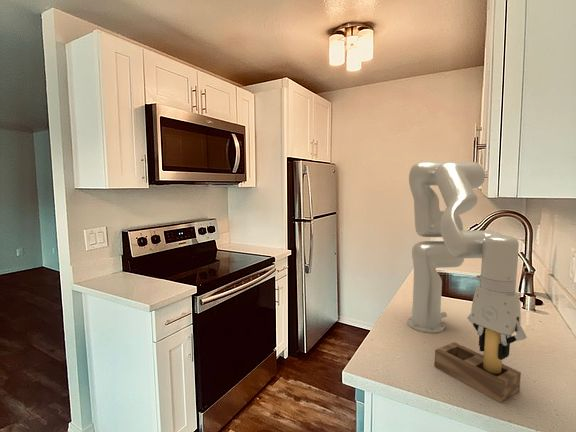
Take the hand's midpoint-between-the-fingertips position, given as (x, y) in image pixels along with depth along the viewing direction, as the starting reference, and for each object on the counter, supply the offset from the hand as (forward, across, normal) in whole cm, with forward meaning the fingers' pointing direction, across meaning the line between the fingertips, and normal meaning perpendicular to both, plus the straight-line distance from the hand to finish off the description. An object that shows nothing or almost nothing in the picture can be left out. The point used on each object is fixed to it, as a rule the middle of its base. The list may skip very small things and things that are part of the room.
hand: (493, 353), depth 85 cm
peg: (+4, 0, 0) cm, 4 cm away
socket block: (+9, -4, 0) cm, 10 cm away
